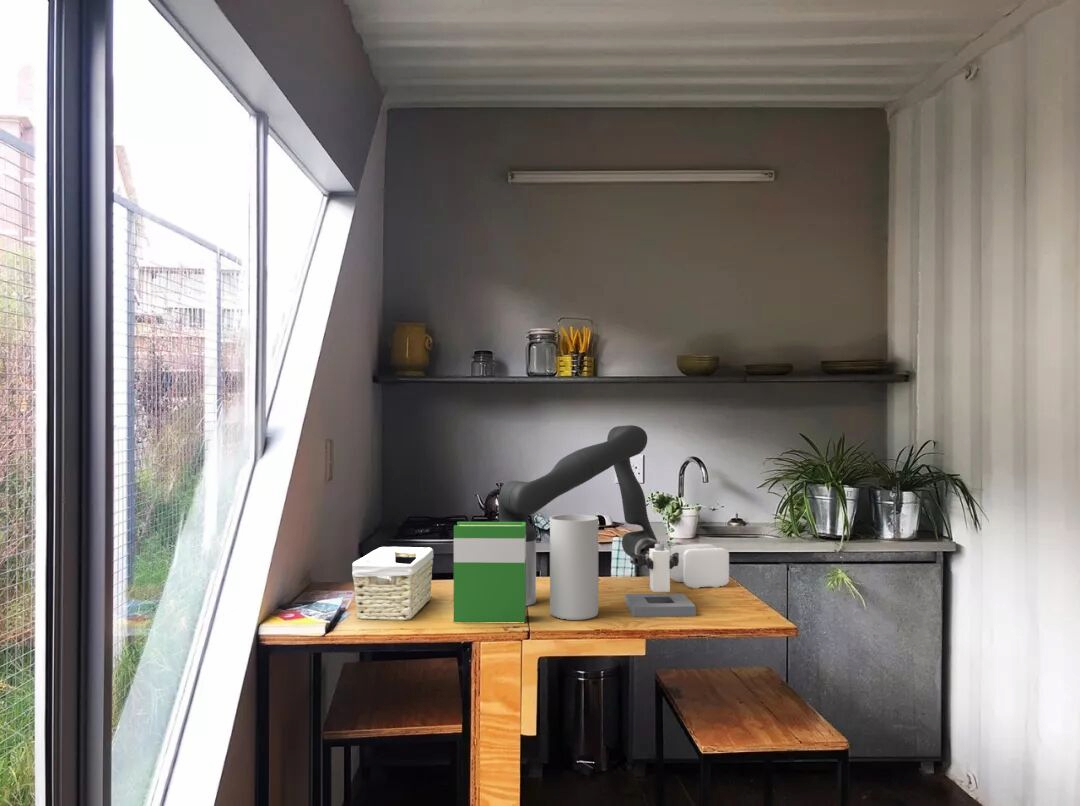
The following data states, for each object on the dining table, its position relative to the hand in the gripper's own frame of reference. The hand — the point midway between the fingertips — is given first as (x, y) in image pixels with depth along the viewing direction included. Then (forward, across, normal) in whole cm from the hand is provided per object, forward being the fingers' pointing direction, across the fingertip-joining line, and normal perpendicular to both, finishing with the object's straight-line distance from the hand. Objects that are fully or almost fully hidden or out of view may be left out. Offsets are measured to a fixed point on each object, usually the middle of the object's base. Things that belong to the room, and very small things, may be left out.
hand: (661, 565), depth 199 cm
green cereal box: (+5, -45, +12) cm, 47 cm away
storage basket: (-6, -70, +12) cm, 72 cm away
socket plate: (-2, 0, +12) cm, 13 cm away
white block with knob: (-3, 0, +7) cm, 8 cm away
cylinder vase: (+2, -23, +12) cm, 26 cm away
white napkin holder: (-31, +18, +13) cm, 38 cm away
